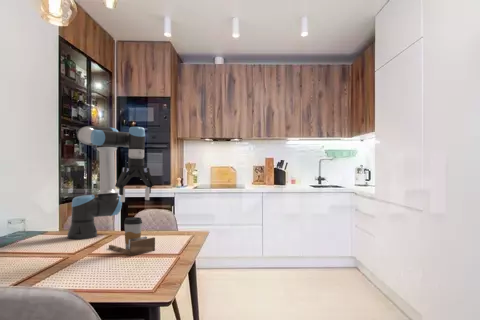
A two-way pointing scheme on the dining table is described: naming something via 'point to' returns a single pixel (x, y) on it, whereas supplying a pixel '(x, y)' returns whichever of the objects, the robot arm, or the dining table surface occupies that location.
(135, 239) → the pusher
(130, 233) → the coffee cup
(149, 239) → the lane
